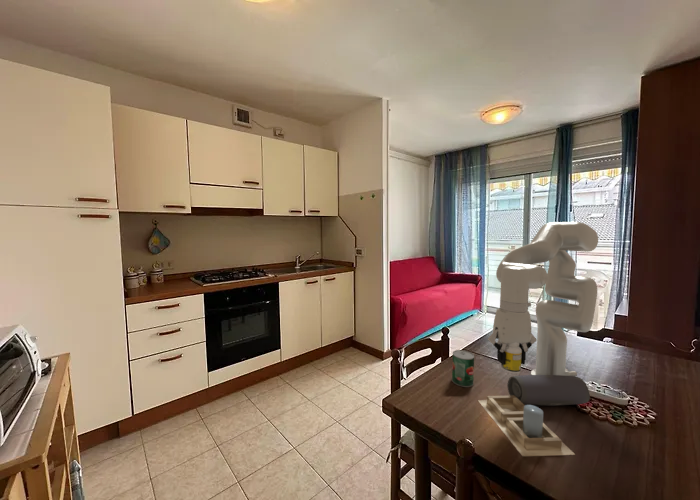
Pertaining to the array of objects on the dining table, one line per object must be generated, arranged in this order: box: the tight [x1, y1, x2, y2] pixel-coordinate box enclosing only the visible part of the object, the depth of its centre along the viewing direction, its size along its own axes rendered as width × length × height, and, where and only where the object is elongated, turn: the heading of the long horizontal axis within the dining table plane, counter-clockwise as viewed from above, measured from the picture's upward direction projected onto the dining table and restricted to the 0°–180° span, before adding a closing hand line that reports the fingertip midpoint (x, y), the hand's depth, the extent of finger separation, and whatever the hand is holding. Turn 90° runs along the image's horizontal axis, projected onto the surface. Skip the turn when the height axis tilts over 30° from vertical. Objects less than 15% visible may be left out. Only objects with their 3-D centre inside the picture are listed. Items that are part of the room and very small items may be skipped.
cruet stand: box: [477, 395, 576, 457], centre depth 85 cm, size 24×14×4 cm, turn 2°
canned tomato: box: [451, 349, 475, 388], centre depth 111 cm, size 8×8×11 cm
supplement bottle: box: [500, 342, 522, 375], centre depth 89 cm, size 5×5×10 cm
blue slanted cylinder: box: [523, 404, 544, 438], centre depth 80 cm, size 5×5×8 cm
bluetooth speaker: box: [507, 374, 591, 407], centre depth 96 cm, size 23×9×10 cm, turn 93°
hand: (511, 362), depth 90 cm, fingers closed on supplement bottle, 5 cm apart
